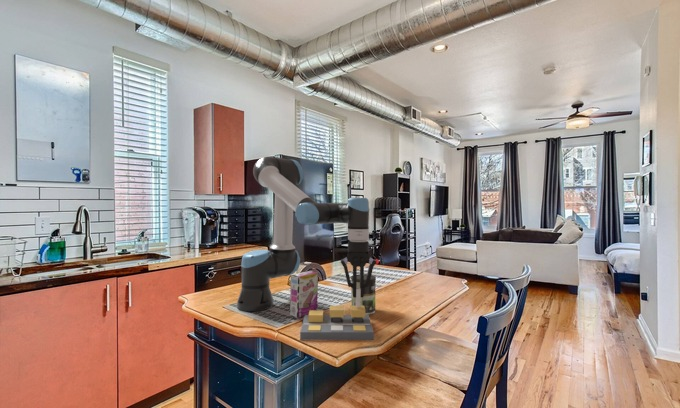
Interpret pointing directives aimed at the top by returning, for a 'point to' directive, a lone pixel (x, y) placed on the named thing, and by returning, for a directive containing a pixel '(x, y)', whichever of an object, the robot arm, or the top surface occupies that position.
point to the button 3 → (357, 313)
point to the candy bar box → (303, 293)
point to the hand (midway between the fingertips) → (358, 306)
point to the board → (337, 329)
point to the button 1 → (315, 316)
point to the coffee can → (366, 295)
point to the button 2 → (336, 313)
